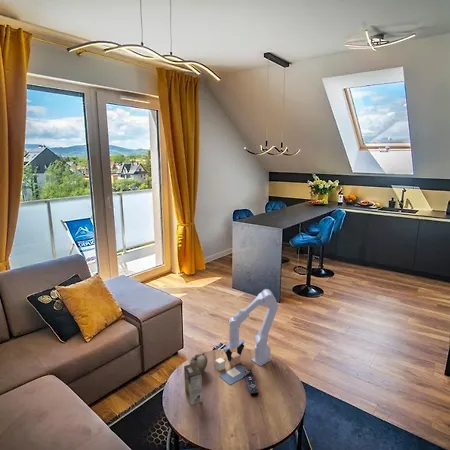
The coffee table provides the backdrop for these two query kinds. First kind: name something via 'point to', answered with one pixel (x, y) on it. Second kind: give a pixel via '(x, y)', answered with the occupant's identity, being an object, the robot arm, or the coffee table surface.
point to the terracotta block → (235, 358)
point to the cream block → (220, 364)
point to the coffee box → (193, 383)
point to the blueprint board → (233, 374)
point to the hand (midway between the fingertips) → (234, 358)
